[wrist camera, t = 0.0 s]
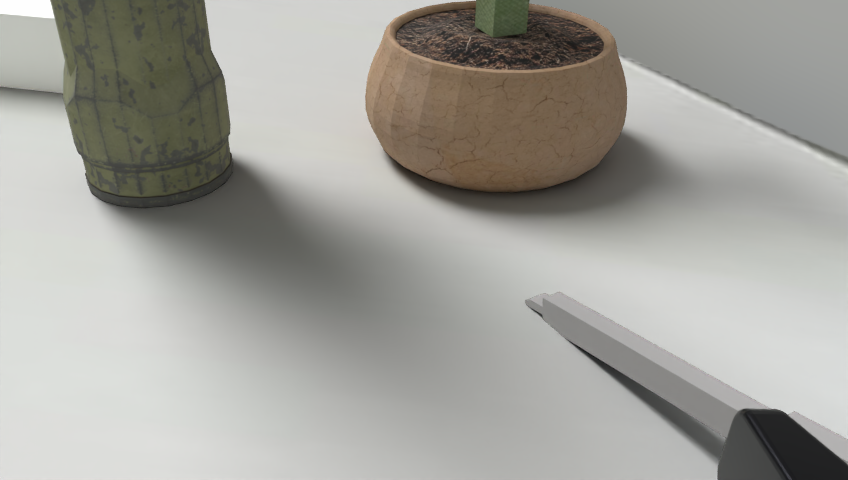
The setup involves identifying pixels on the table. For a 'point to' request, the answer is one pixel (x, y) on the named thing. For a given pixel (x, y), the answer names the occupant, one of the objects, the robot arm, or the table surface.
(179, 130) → the thermos
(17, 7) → the triangle block
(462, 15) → the potted plant
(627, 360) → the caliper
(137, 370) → the table surface
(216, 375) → the table surface
